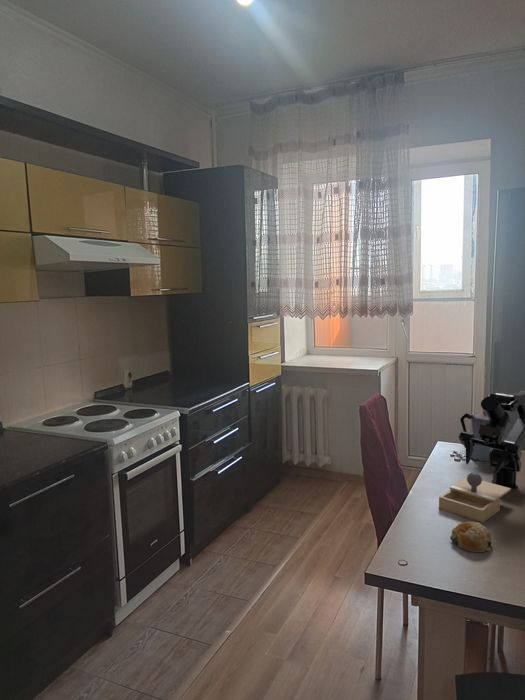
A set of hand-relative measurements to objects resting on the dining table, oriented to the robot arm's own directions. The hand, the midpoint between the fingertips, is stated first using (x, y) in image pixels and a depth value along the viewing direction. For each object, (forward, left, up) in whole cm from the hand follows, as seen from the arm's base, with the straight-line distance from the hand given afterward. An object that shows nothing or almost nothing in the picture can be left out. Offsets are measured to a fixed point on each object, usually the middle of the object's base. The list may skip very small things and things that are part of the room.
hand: (480, 468), depth 166 cm
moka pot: (-19, -39, -12) cm, 45 cm away
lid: (0, 0, -7) cm, 7 cm away
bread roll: (+15, +25, -12) cm, 32 cm away
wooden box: (+6, +5, -12) cm, 14 cm away
